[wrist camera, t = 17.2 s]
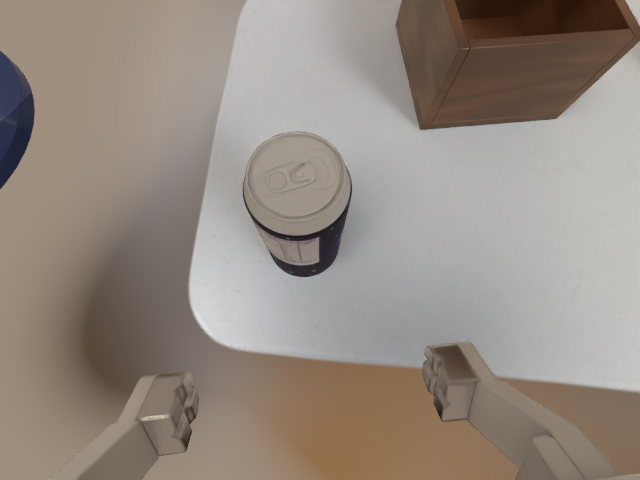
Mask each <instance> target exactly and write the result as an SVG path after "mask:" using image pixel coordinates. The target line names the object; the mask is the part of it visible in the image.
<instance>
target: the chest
mask: <svg viewBox="0 0 640 480" xmlns="http://www.w3.org/2000/svg"><path fill="white" fill-rule="evenodd" d="M396 29H397V33H398V37H399V42H400V46H401V50H402V54H403V58H404V63H405V67H406V71H407V75H408V80H409V84H410V88H411V92H412V97H413V101H414V105H415V109H416V114H417V118H418V122H419V126H420V129H421V130H422V129H434V128H446V127H459V126H471V125H484V124H496V123H509V122H521V121H534V120H546V119H556V118H558V117H559V116H560V115H561V114H562V113H563V112H564V111H565V110H566V109H567V108H568V107H569V106H570V105H571V104H573V103H574V102H575V101H576V100H577V99H578V98H579V97H580V96H581V95H582V94H583V93H584V92H585V91H587V90H588V89H589V88H590V87H591V86H592V85H593V84H594V83H595V82H596V81H597V80H598V79H599V78H600V77H602V76H603V75H604V74H605V73H606V72H607V71H608V70H609V69H610V68H611V67H612V66H613V65H614V64H616V63H617V62H618V61H619V60H620V59H621V58H622V57H623V56H624V55H625V54H626V53H627V52H628V51H630V50H631V49H632V48H633V47H634V46H635V45H636V44H637V43H638V42H639V41H640V26H639V24H638V23H637V21H636V19H635V17H634V15H633V14H632V12H631V10H630V8H629V6H628V5H627V3H626V1H625V0H402V2H401V6H400V10H399V14H398V19H397V22H396Z"/></svg>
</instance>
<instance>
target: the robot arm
mask: <svg viewBox="0 0 640 480" xmlns="http://www.w3.org/2000/svg"><path fill="white" fill-rule="evenodd" d="M424 354H425V357H426V359H427V360H426V361H425V362H424V363H423V376H424V381H425V384H426V386H427V389H428V391H429V392H430V393H431V394H433V395H434V396H435V398H434V405H435V407H436V409H437V412H438V414H439V416H440V418H441V421H442V422H447V421H458V420H468V422H469V423H470V424H471V425H472V426H473V427H474V428H476V429H477V430H478V431H479V432H480V433H481V434H482V435H483V436H484V437H486V438H487V439H488V440H489V441H490V442H491V443H492V444H493V445H494V446H495V447H496V448H498V449H499V450H500V451H501V452H502V453H503V454H504V455H505V456H506V457H508V458H509V459H510V460H511V461H512V462H513V463H514V464H515V465H516V466H517V467H518V468H520V470H519V472H518V475H517V477H516V480H640V473H639V474H631V475H623V476H621V475H620V474H619V473H618V472H617V470H616V469H615V468H614V467H613V466H612V464H611V463H610V462H609V461H608V460H607V458H606V457H605V456H604V455H603V454H602V452H601V451H600V450H599V449H598V447H597V446H596V445H595V444H594V443H593V442H592V440H591V439H590V438H589V437H588V435H587V434H586V433H585V432H584V431H583V429H581V428H579V427H578V426H576V425H574V424H573V423H571V422H570V421H568V420H567V419H565V418H563V417H562V416H560V415H558V414H557V413H555V412H553V411H552V410H550V409H549V408H547V407H546V406H544V405H542V404H541V403H539V402H537V401H536V400H534V399H533V398H531V397H529V396H528V395H526V394H524V393H523V392H521V391H520V390H518V389H516V388H515V387H513V386H512V385H510V384H508V383H507V382H505V381H504V380H497V378H496V377H495V376H494V374H493V373H492V371H491V370H490V368H489V367H488V365H487V364H486V363H485V361H484V360H483V358H482V357H481V355H480V354H479V353H478V351H477V350H476V348H475V347H474V345H473V344H472V343H471V342H469V341H467V342H458V343H448V344H440V345H432V346H426V348H425V353H424ZM192 381H193V378H192V375H191V373H190V372H185V373H173V374H161V375H151V376H143V377H142V378H141V379H140V380H139V381H138V383H137V385H136V387H135V389H134V391H133V393H132V395H131V397H130V399H129V401H128V402H127V404H126V406H125V408H124V410H123V412H122V414H121V416H120V418H119V420H118V422H117V423H113V424H111V425H110V426H109V427H108V428H107V429H105V430H104V431H103V432H102V433H101V434H100V435H98V437H96V438H95V439H94V440H93V441H92V442H91V443H89V444H88V445H87V446H86V447H85V448H84V449H82V450H81V451H80V452H79V453H78V454H77V455H75V457H73V458H72V459H71V460H70V461H69V462H67V463H66V464H65V465H64V466H63V467H62V468H61V469H59V470H58V471H57V472H56V473H55V474H54V475H53V476H51V477H50V478H49V479H48V480H142V478H143V477H144V476H145V475H146V473H147V472H148V471H149V470H150V468H151V467H152V466H153V465H154V463H155V462H156V461H157V460H158V456H164V455H171V454H177V453H184V452H186V450H187V447H188V443H189V440H190V436H191V433H192V430H191V428H190V423H191V422H192V421H193V420H194V419H195V418H196V415H197V411H198V404H199V397H198V392H197V389H196V388H195V387H194V386H192V385H191V384H192Z"/></svg>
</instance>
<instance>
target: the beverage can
mask: <svg viewBox="0 0 640 480" xmlns="http://www.w3.org/2000/svg"><path fill="white" fill-rule="evenodd" d="M351 194H352V183H351V178H350V174H349V172H348V169H347V167H346V166H345V164H344V161H343V159H342V157H341V155H340V153H339V152H338V151H337V149H336V148H335V147H334V146H333V145H332V144H331V143H329V142H328V141H327V140H325V139H323V138H321V137H319V136H317V135H314V134H311V133H307V132H287V133H282V134H279V135H276V136H274V137H272V138H270V139H268V140H267V141H265V142H264V143H262V144H261V145H260V146H259V147H258V148H257V149H256V150H255V152H254V153H253V154H252V156H251V158H250V159H249V162H248V165H247V168H246V174H245V178H244V183H243V198H244V202H245V205H246V208H247V210H248V212H249V214H250V216H251V218H252V219H253V221H254V223H255V225H256V227H257V229H258V231H259V233H260V235H261V237H262V239H263V241H264V243H265V244H266V246H267V248H268V250H269V252H270V254H271V256H272V258H273V260H274V261H275V263H276V264H277V265H278V266H279V267H280V268H281V269H282V270H283V271H285V272H286V273H288V274H291V275H294V276H298V277H310V276H314V275H317V274H319V273H321V272H323V271H324V270H326V269H327V268H328V267H329V266H330V265H331V264H332V263H333V261H334V260H335V258H336V256H337V253H338V249H339V245H340V241H341V237H342V233H343V228H344V224H345V220H346V216H347V212H348V208H349V203H350V199H351Z"/></svg>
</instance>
